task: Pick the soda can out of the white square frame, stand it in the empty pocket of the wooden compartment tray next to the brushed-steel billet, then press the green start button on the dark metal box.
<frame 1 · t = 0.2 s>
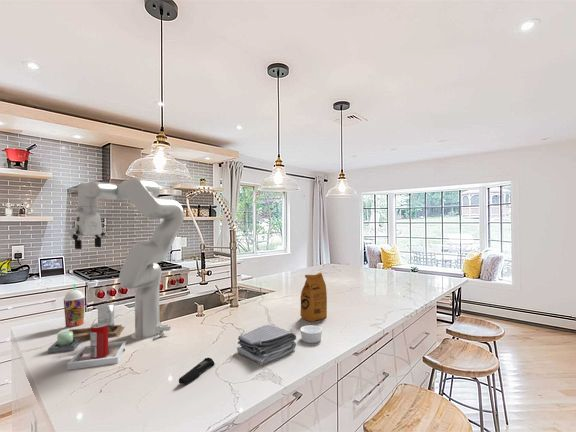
hand: (88, 247, 142), 37 cm above the worktop, tool pointing down, fingers open, 9 cm apart
smoothie: (74, 327, 145), on the worktop
start button: (65, 338, 119), point 5 cm above the worktop, slide at 0.0 cm
electric trimmer: (197, 375, 100), on the worktop
coffee package: (313, 318, 155), on the worktop
wooden compartment tray: (92, 337, 132), on the worktop
white square frame: (99, 356, 113), on the worktop
soda can: (99, 357, 113), resting in white square frame
button box: (65, 350, 119), on the worktop
ramekin: (311, 340, 128), on the worktop
towel: (266, 352, 117), on the worktop
steel billet: (106, 333, 133), point 1 cm above the worktop, touching wooden compartment tray
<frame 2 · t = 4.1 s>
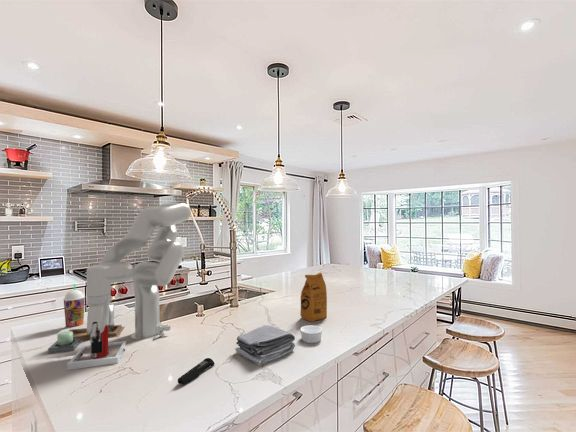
hand: (99, 348, 113), 3 cm above the worktop, tool pointing down, fingers closed on soda can, 5 cm apart
soda can: (99, 357, 113), resting in white square frame, touching gripper
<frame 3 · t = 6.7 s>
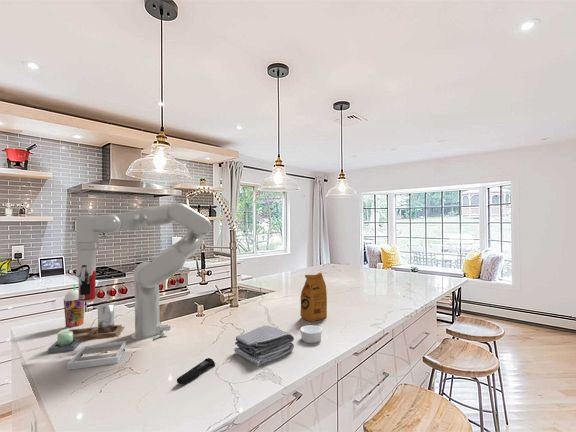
hand: (87, 292, 122), 22 cm above the worktop, tool pointing down, fingers closed on soda can, 5 cm apart
soda can: (87, 300, 122), point 18 cm above the worktop, touching gripper
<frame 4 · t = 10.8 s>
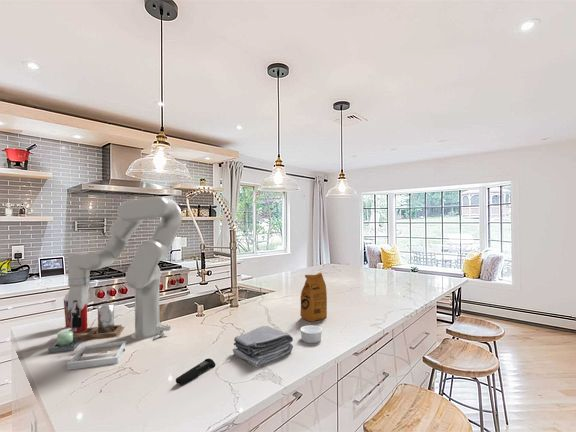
hand: (79, 324, 130), 6 cm above the worktop, tool pointing down, fingers closed on soda can, 5 cm apart
soda can: (79, 332, 130), point 3 cm above the worktop, touching gripper
when the fingers open (6 cm above the worktop, at t = 10.8 s): soda can drops 2 cm, resting on wooden compartment tray.
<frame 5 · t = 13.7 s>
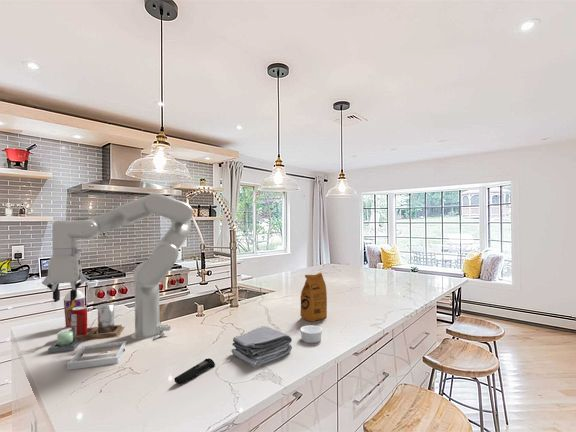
hand: (65, 300, 119), 19 cm above the worktop, tool pointing down, fingers open, 4 cm apart
soda can: (79, 336, 130), point 1 cm above the worktop, touching wooden compartment tray
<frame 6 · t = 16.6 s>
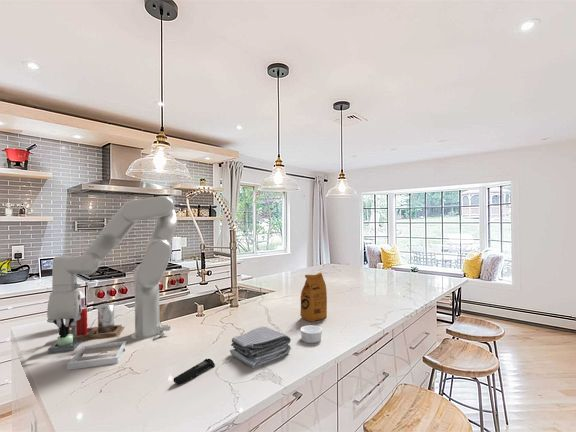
hand: (64, 336, 119), 6 cm above the worktop, tool pointing down, fingers closed
start button: (65, 341, 119), point 4 cm above the worktop, slide at 1.1 cm, touching gripper
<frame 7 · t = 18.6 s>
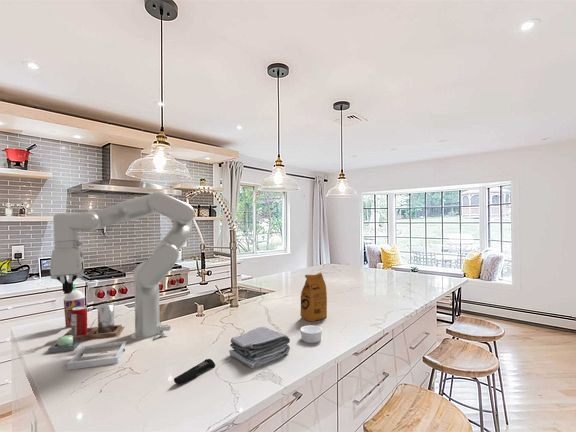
hand: (68, 292, 119), 22 cm above the worktop, tool pointing down, fingers closed
start button: (65, 342, 119), point 3 cm above the worktop, slide at 1.6 cm
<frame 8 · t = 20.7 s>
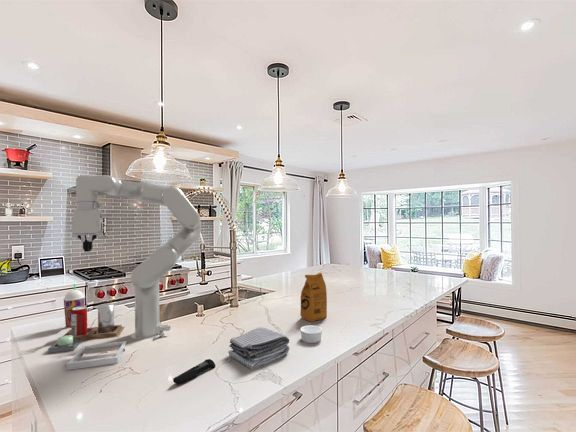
hand: (87, 251, 126), 37 cm above the worktop, tool pointing down, fingers closed
at the end: soda can 0.0 cm from the target spot on the wooden compartment tray, point 1.0 cm above the wooden compartment tray's base; soda can tilted 0°; start button slide at 1.6 cm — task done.
